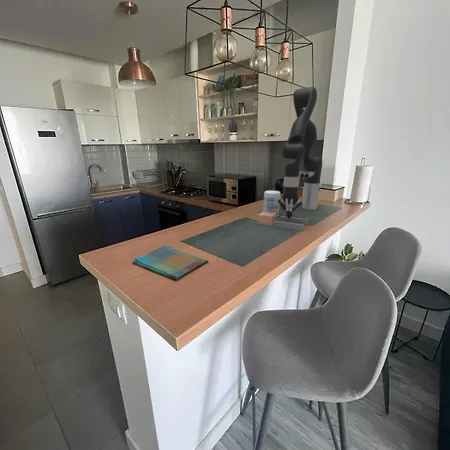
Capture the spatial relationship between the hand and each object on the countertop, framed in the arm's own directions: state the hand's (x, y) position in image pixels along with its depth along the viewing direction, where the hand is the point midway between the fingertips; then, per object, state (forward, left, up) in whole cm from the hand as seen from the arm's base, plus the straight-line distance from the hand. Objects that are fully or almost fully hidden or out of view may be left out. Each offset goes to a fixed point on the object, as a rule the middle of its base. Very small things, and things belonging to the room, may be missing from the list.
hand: (289, 217), depth 132 cm
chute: (0, +1, -4) cm, 4 cm away
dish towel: (+63, -27, -5) cm, 69 cm away
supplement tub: (-13, -14, -4) cm, 19 cm away
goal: (0, -12, -4) cm, 12 cm away
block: (0, -12, -4) cm, 13 cm away
